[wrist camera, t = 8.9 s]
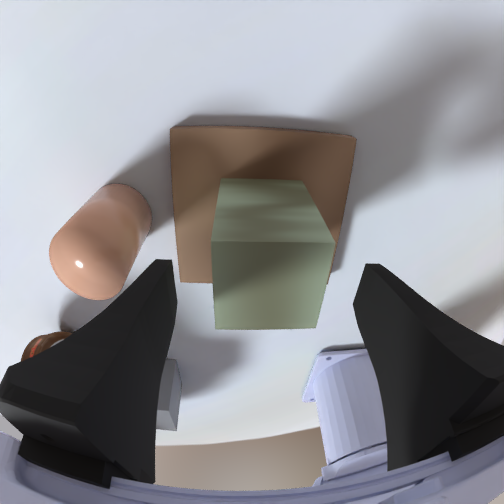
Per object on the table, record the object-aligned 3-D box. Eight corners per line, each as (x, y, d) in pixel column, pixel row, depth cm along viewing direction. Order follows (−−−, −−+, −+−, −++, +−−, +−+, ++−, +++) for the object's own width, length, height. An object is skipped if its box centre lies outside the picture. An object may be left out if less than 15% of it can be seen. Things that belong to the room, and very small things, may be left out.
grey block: (176, 359, 23) (168, 410, 19) (181, 384, 25) (176, 431, 21) (131, 355, 23) (118, 404, 19) (141, 380, 25) (131, 425, 21)
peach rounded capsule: (148, 182, 15) (115, 226, 11) (155, 245, 17) (132, 302, 13) (84, 185, 15) (39, 227, 11) (96, 244, 17) (63, 297, 13)
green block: (302, 180, 15) (335, 243, 10) (294, 248, 17) (315, 328, 12) (221, 178, 14) (210, 241, 9) (221, 247, 17) (215, 329, 12)
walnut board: (351, 135, 14) (356, 139, 13) (324, 276, 19) (327, 284, 18) (173, 126, 14) (169, 129, 13) (182, 274, 18) (180, 282, 18)
